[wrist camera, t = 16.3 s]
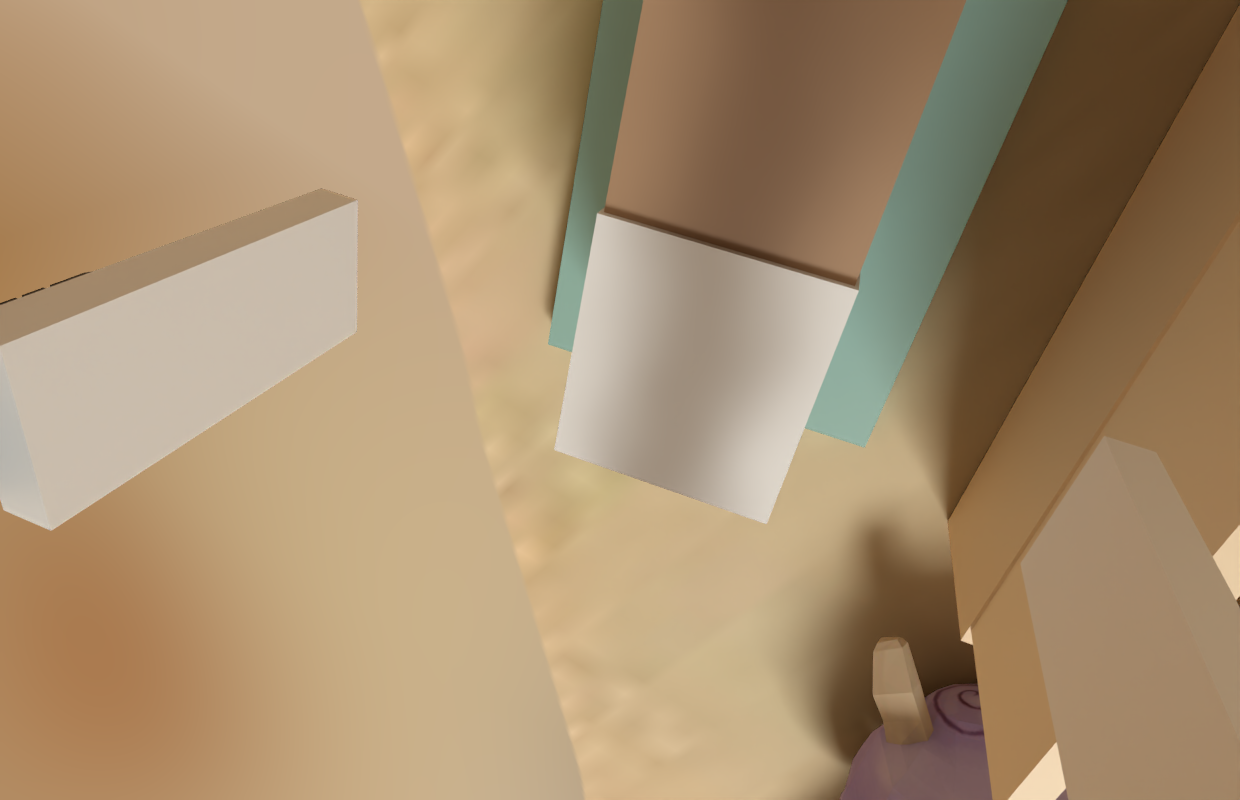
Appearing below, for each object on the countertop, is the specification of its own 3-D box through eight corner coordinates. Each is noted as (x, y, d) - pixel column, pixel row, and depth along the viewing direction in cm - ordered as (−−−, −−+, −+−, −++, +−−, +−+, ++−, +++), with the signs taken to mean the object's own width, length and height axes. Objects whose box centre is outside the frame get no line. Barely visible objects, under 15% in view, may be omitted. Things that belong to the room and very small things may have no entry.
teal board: (1191, -294, 17) (1207, -307, 16) (865, 433, 27) (864, 447, 27) (675, -379, 19) (666, -394, 18) (557, 333, 29) (548, 344, 28)
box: (1044, -268, 17) (1131, -398, 11) (793, 399, 27) (766, 524, 21) (775, -316, 18) (719, -459, 12) (626, 345, 27) (554, 449, 22)
